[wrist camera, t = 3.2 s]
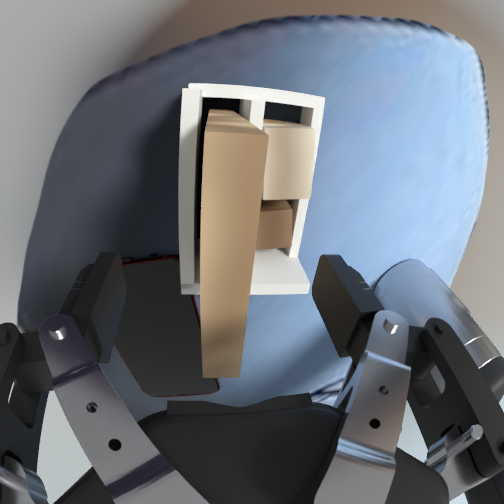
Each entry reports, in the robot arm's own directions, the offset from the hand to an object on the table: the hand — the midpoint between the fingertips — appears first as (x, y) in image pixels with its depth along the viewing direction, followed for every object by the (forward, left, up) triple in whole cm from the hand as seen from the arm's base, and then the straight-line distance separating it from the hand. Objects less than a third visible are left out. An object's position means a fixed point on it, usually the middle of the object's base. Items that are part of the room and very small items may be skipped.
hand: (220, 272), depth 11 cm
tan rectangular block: (0, 0, -15) cm, 15 cm away
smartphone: (+6, +21, -16) cm, 27 cm away
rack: (-3, 0, -15) cm, 15 cm away
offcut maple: (-5, -2, -12) cm, 13 cm away
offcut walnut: (-5, +4, -15) cm, 16 cm away
